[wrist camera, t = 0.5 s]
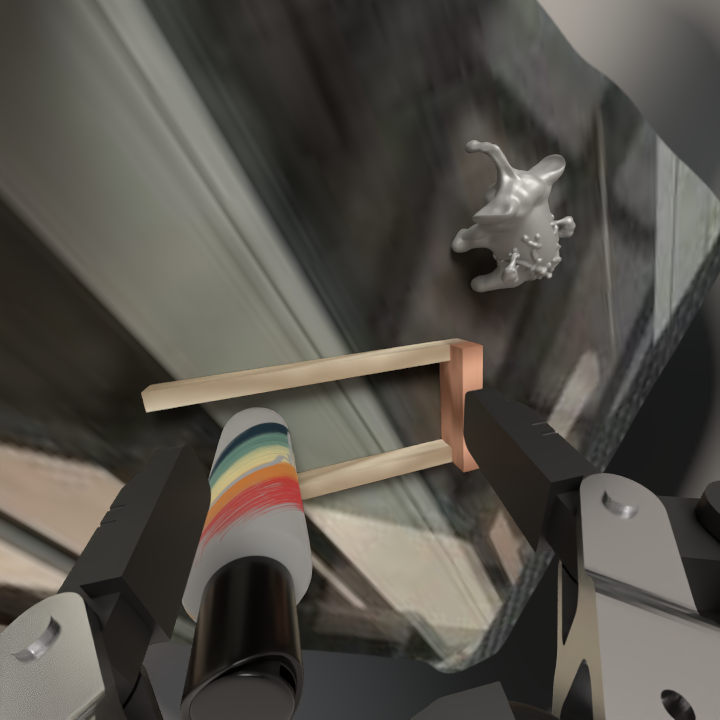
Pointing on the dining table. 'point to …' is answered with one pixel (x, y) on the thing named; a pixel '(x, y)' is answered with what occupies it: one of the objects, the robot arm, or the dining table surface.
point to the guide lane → (453, 355)
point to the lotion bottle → (249, 579)
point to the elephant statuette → (516, 222)
